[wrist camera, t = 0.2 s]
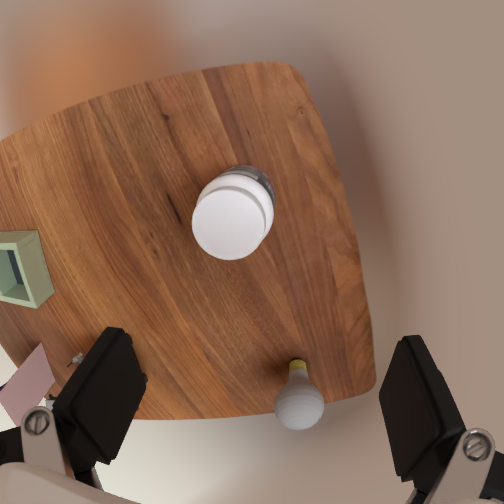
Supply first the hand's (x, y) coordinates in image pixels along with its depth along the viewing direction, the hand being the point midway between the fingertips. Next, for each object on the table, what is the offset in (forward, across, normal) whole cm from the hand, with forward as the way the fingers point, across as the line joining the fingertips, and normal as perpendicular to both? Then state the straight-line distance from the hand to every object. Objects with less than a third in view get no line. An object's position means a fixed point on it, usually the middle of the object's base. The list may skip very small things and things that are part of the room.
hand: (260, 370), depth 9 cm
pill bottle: (+20, +3, -1) cm, 21 cm away
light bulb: (+20, -3, +20) cm, 28 cm away
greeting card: (+20, +43, +28) cm, 55 cm away
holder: (+20, +40, +6) cm, 45 cm away
